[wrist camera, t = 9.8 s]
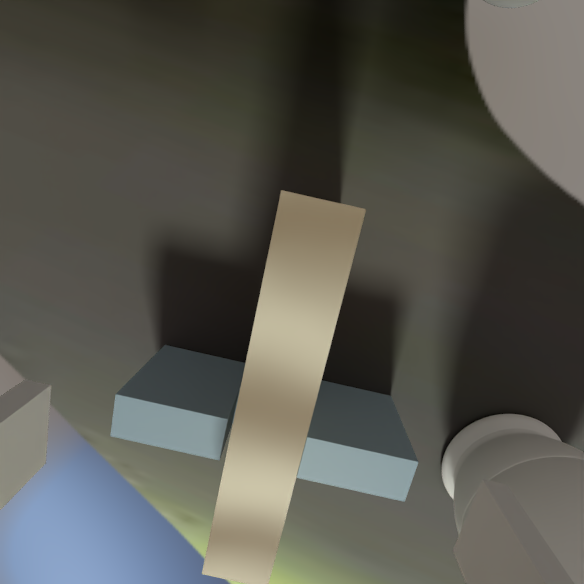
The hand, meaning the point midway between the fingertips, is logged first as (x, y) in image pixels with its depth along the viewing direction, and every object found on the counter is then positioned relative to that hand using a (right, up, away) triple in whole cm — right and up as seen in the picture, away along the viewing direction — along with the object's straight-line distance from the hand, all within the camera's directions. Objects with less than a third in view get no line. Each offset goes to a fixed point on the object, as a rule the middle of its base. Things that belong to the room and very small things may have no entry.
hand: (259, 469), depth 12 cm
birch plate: (+1, +3, +14) cm, 15 cm away
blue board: (0, -1, +15) cm, 15 cm away
